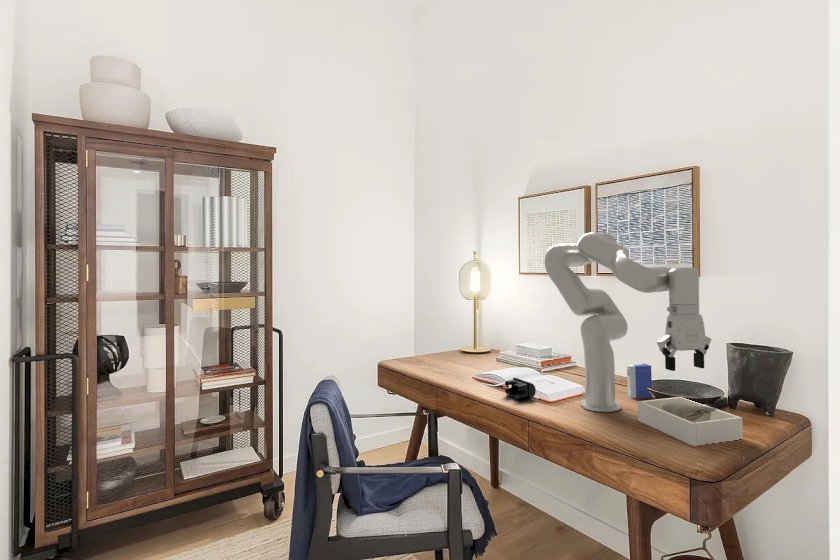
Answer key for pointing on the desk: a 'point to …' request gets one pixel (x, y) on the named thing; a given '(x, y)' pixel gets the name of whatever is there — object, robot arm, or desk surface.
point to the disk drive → (718, 402)
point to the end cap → (520, 390)
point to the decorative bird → (689, 411)
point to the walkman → (639, 381)
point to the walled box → (690, 423)
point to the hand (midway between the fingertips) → (684, 368)
